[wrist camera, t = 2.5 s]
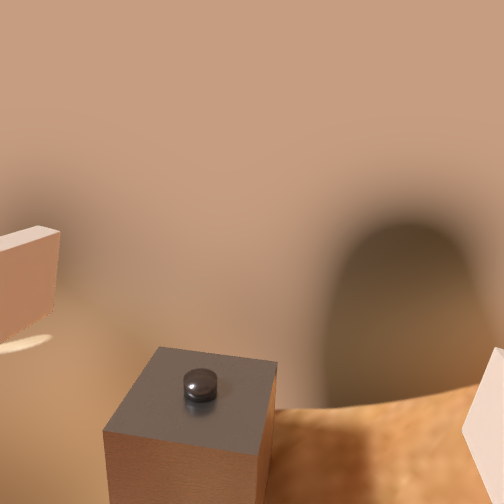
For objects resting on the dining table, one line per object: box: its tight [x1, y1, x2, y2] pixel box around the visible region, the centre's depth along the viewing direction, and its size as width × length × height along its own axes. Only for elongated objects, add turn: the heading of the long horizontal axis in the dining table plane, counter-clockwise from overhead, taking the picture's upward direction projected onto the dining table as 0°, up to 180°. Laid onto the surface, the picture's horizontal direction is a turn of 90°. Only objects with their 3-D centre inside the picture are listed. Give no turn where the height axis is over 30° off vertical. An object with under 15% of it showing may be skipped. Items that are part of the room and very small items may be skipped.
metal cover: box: [103, 347, 277, 504], centre depth 34 cm, size 10×10×11 cm
